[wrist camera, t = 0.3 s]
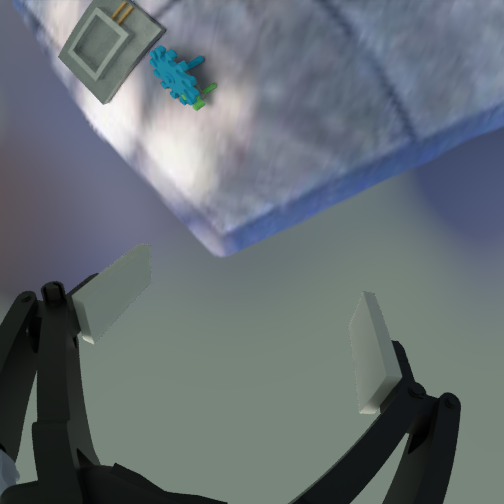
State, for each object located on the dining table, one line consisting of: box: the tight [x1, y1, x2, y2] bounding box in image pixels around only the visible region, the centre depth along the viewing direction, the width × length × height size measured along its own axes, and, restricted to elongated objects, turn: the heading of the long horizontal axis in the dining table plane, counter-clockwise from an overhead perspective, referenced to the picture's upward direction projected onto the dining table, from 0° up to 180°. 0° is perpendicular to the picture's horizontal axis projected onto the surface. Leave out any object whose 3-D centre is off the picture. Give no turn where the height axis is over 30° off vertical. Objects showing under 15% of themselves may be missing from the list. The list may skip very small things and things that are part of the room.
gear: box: [149, 46, 217, 111], centre depth 29 cm, size 11×6×10 cm
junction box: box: [58, 0, 166, 105], centre depth 27 cm, size 16×16×3 cm
